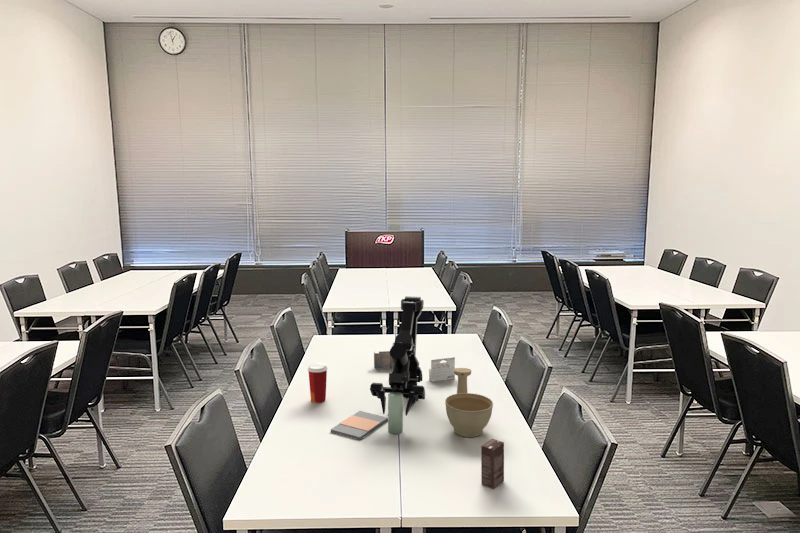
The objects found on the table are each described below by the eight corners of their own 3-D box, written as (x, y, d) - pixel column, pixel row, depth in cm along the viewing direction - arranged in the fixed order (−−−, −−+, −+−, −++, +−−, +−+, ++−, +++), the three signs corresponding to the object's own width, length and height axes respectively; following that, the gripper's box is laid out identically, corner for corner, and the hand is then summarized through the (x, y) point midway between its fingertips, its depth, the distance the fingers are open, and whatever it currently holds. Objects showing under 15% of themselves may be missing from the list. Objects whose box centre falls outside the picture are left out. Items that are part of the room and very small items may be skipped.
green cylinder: (386, 428, 204) (386, 393, 202) (400, 427, 206) (400, 391, 203) (390, 434, 200) (390, 398, 197) (404, 433, 201) (404, 396, 199)
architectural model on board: (398, 366, 269) (398, 346, 268) (399, 368, 266) (399, 348, 265) (374, 367, 268) (373, 347, 266) (374, 369, 265) (374, 349, 263)
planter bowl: (488, 445, 192) (489, 413, 190) (440, 438, 197) (440, 407, 195) (495, 425, 207) (496, 395, 206) (450, 419, 212) (450, 390, 210)
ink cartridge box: (428, 380, 251) (428, 358, 250) (452, 377, 255) (453, 355, 253) (430, 382, 249) (431, 359, 247) (455, 379, 252) (455, 357, 251)
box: (490, 476, 173) (491, 437, 171) (504, 481, 170) (505, 442, 168) (479, 484, 168) (480, 445, 166) (493, 490, 166) (494, 450, 164)
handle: (470, 411, 219) (471, 372, 216) (453, 410, 220) (453, 371, 217) (470, 406, 224) (471, 368, 221) (453, 405, 224) (454, 367, 222)
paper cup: (331, 397, 231) (330, 363, 229) (322, 405, 224) (322, 370, 222) (313, 395, 234) (312, 361, 232) (304, 402, 227) (303, 367, 224)
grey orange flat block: (359, 413, 217) (359, 410, 217) (387, 420, 211) (387, 417, 211) (330, 432, 202) (330, 428, 201) (360, 440, 196) (360, 436, 196)
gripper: (370, 360, 204) (363, 403, 195) (424, 363, 201) (419, 407, 192) (375, 374, 213) (369, 415, 204) (427, 377, 210) (422, 419, 201)
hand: (394, 414), depth 200 cm, fingers open, 7 cm apart
